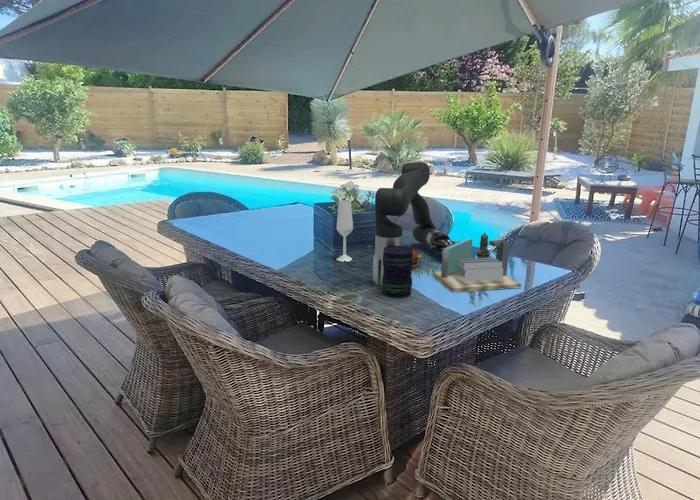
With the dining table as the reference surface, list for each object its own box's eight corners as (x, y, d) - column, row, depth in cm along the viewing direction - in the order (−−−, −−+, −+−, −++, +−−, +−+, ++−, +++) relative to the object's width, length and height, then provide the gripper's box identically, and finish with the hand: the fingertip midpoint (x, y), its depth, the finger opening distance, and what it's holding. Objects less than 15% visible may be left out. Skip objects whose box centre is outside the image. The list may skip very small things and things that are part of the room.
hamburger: (410, 270, 194) (410, 254, 192) (389, 266, 200) (389, 249, 198) (423, 265, 201) (423, 249, 199) (403, 261, 207) (403, 245, 205)
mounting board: (452, 292, 170) (452, 288, 169) (432, 276, 187) (433, 272, 186) (520, 288, 175) (521, 283, 175) (495, 272, 192) (496, 268, 192)
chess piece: (479, 258, 212) (481, 229, 209) (492, 260, 208) (494, 232, 205) (472, 261, 207) (474, 232, 204) (486, 263, 204) (488, 234, 201)
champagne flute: (350, 262, 204) (351, 202, 198) (334, 260, 205) (334, 201, 199) (354, 257, 210) (354, 200, 204) (338, 256, 212) (338, 199, 205)
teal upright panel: (445, 277, 180) (447, 250, 177) (440, 276, 181) (441, 248, 179) (471, 264, 196) (473, 239, 193) (466, 263, 197) (468, 238, 195)
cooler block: (464, 284, 173) (466, 250, 170) (451, 274, 184) (453, 242, 181) (516, 281, 177) (519, 247, 174) (500, 271, 188) (503, 240, 185)
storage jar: (409, 288, 174) (411, 245, 170) (413, 298, 164) (415, 253, 161) (380, 288, 174) (381, 245, 170) (383, 298, 164) (384, 253, 160)
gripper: (423, 232, 211) (439, 242, 195) (453, 231, 214) (471, 240, 198) (422, 249, 213) (438, 260, 197) (452, 248, 216) (469, 259, 200)
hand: (454, 250), depth 197 cm, fingers closed
